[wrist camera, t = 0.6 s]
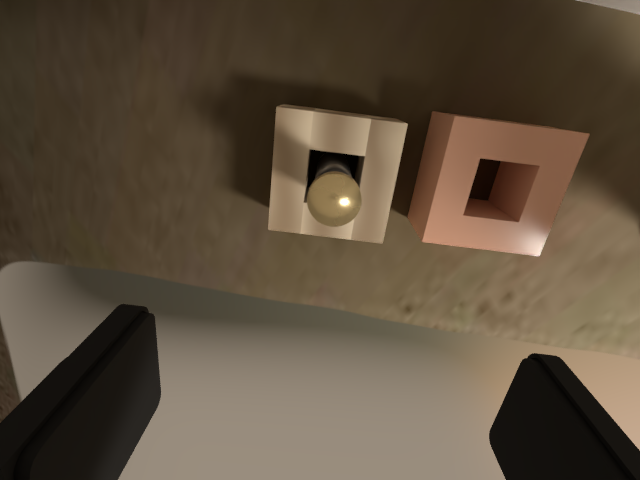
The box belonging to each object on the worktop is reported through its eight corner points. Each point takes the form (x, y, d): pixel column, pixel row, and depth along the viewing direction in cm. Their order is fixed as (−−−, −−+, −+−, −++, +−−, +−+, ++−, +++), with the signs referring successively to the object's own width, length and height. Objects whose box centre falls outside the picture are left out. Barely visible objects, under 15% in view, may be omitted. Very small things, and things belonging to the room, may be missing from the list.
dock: (543, 125, 31) (589, 133, 25) (506, 229, 35) (539, 256, 29) (432, 111, 31) (454, 115, 25) (407, 217, 35) (422, 241, 29)
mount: (396, 118, 31) (407, 123, 26) (375, 223, 35) (382, 243, 30) (284, 103, 31) (276, 106, 26) (276, 211, 35) (268, 229, 30)
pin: (354, 150, 32) (366, 177, 22) (348, 188, 34) (357, 229, 24) (316, 145, 32) (310, 170, 22) (311, 183, 34) (304, 223, 24)
